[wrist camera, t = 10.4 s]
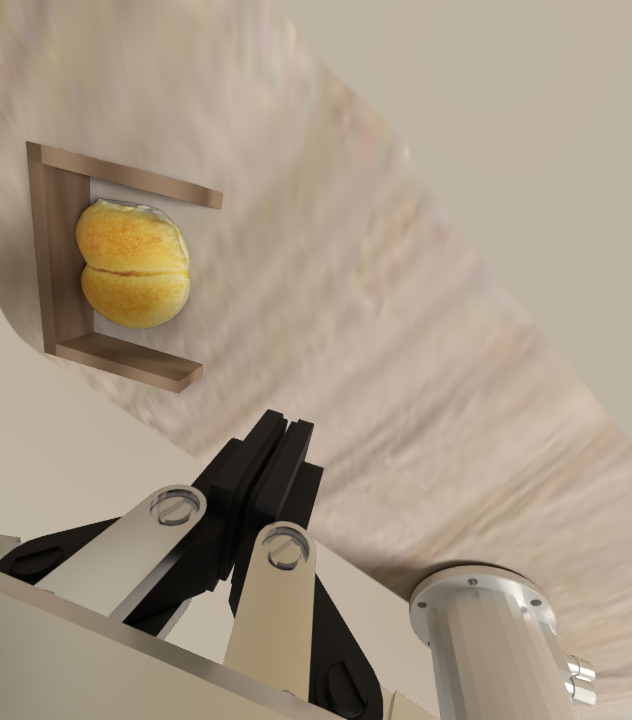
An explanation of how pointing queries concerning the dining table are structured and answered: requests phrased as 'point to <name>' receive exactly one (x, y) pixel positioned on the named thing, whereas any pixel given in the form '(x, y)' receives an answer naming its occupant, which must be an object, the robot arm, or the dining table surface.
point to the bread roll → (133, 263)
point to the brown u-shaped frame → (66, 263)
